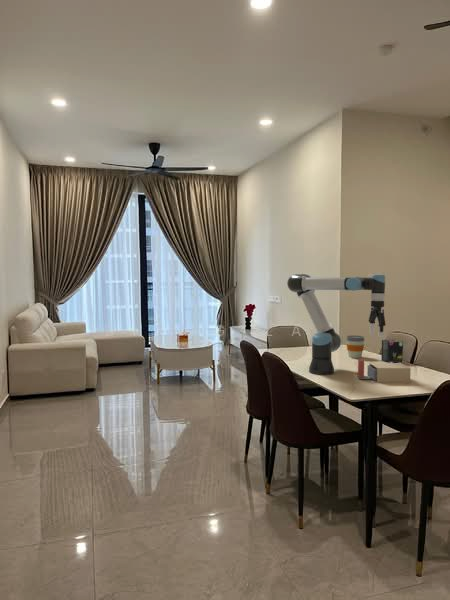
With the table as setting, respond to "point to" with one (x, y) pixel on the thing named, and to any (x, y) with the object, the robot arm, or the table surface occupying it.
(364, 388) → the table surface
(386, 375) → the sleeve
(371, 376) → the tray
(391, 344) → the tampon box
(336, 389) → the table surface
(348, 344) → the reusable coffee cup
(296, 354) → the table surface
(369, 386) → the table surface
